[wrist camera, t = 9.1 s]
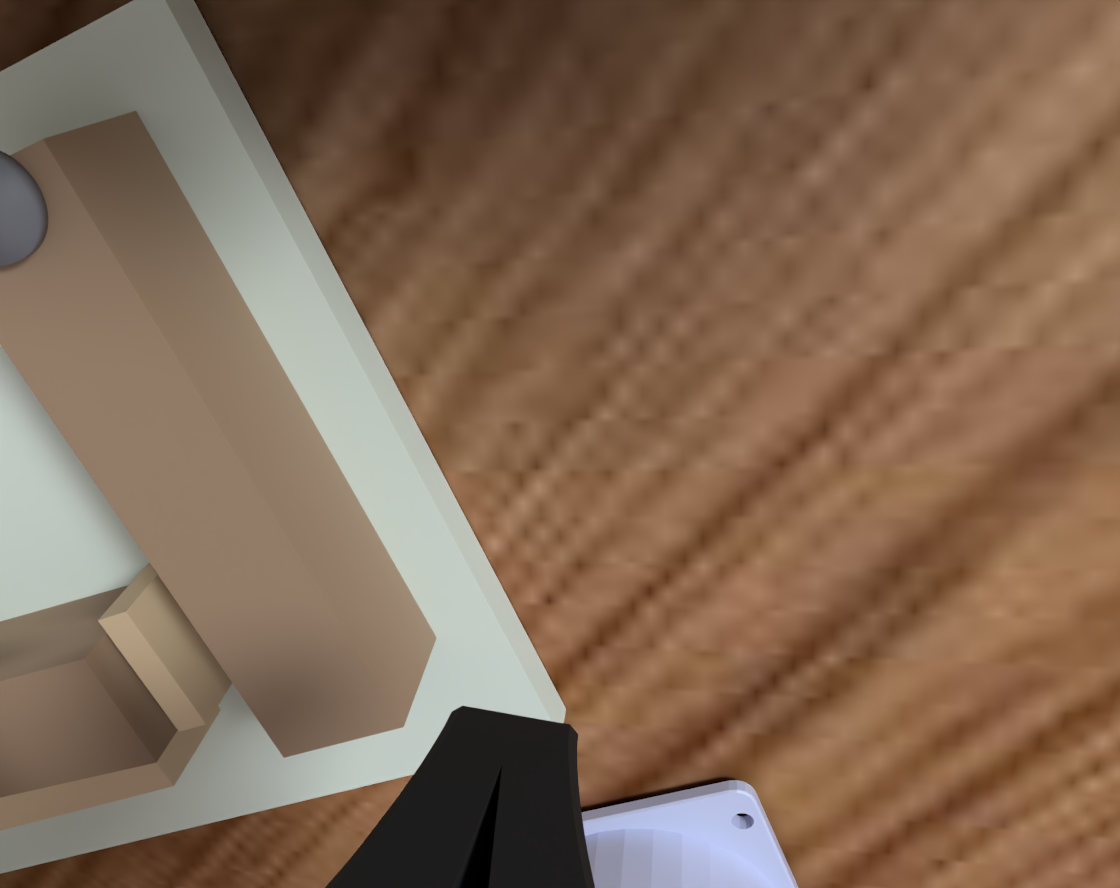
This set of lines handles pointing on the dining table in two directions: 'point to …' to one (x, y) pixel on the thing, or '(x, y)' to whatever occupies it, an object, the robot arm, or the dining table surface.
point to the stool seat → (216, 454)
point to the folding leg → (71, 700)
